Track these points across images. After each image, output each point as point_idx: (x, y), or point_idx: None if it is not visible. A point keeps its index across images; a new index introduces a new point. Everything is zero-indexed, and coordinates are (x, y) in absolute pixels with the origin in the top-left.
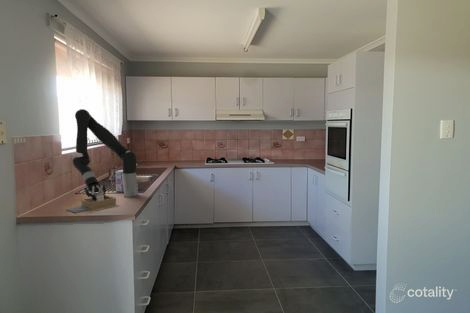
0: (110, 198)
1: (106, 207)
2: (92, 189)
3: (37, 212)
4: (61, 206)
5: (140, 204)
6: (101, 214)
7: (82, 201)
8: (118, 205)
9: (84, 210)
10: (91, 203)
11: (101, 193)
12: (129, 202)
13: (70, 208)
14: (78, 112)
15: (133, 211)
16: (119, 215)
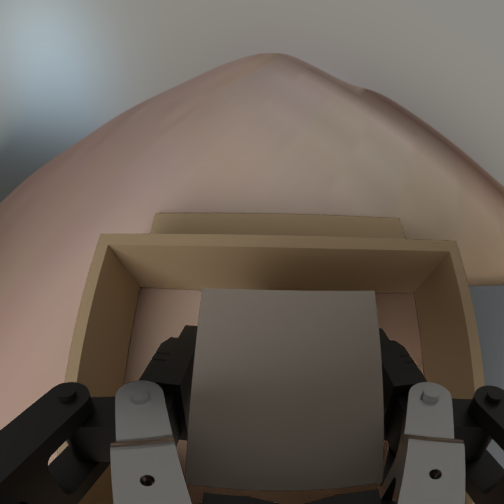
0: (94, 362)
1: (282, 229)
2: (457, 495)
3: None
4: None
5: (73, 146)
6: (386, 126)
7: None
8: (159, 214)
9: (477, 288)
10: (447, 246)
11: (227, 342)
12: (38, 245)
13: None
14: None
15: (220, 72)
16: (312, 68)
